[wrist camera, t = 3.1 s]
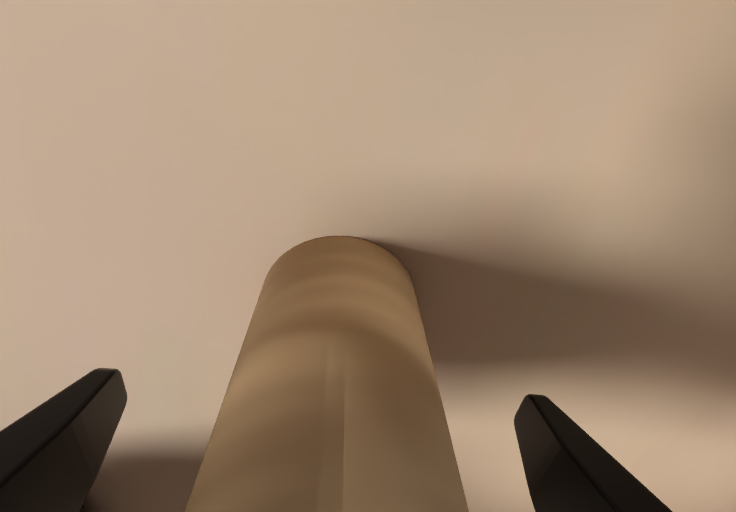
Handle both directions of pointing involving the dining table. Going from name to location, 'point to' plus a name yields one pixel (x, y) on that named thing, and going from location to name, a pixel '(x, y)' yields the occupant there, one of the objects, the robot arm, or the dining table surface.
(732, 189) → the dining table surface
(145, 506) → the dining table surface
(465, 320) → the dining table surface
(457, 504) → the wooden dowel
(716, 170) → the dining table surface
